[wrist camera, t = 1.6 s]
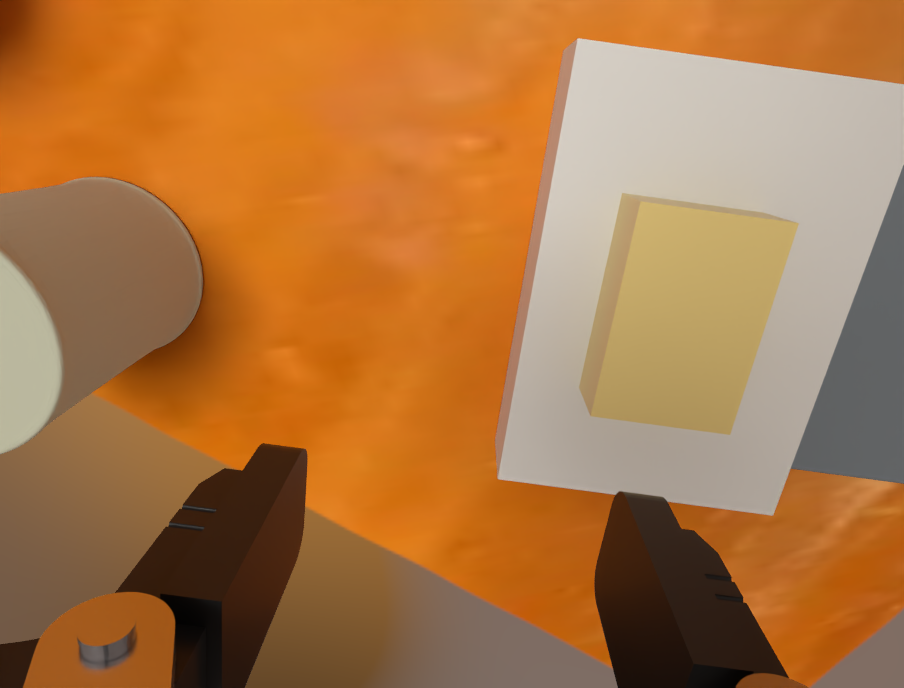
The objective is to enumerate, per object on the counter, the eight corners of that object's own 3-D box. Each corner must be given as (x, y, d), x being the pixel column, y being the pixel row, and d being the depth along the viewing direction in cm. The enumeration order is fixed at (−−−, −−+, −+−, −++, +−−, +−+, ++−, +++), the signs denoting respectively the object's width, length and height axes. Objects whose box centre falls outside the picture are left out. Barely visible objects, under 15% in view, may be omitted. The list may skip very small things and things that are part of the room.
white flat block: (563, 50, 27) (577, 38, 23) (869, 93, 27) (931, 88, 24) (494, 440, 34) (497, 479, 30) (740, 472, 34) (773, 515, 30)
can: (54, 354, 33) (-162, 471, 22) (4, 181, 30) (-278, 214, 19) (218, 348, 33) (84, 464, 21) (184, 171, 30) (6, 200, 18)
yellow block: (622, 193, 25) (640, 201, 23) (762, 212, 25) (798, 223, 23) (578, 387, 28) (590, 416, 26) (704, 404, 28) (730, 435, 26)
